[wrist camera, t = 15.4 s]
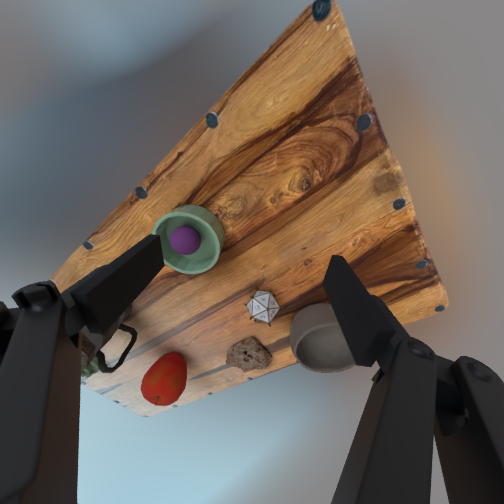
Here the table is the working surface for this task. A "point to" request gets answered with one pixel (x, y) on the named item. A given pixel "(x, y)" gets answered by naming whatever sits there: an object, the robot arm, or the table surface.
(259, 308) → the game die
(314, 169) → the table surface
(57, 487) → the robot arm
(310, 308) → the bowl
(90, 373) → the decorative artifact
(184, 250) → the plum ball
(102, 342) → the mug
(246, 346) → the rock
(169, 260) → the green bowl
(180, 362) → the apple
